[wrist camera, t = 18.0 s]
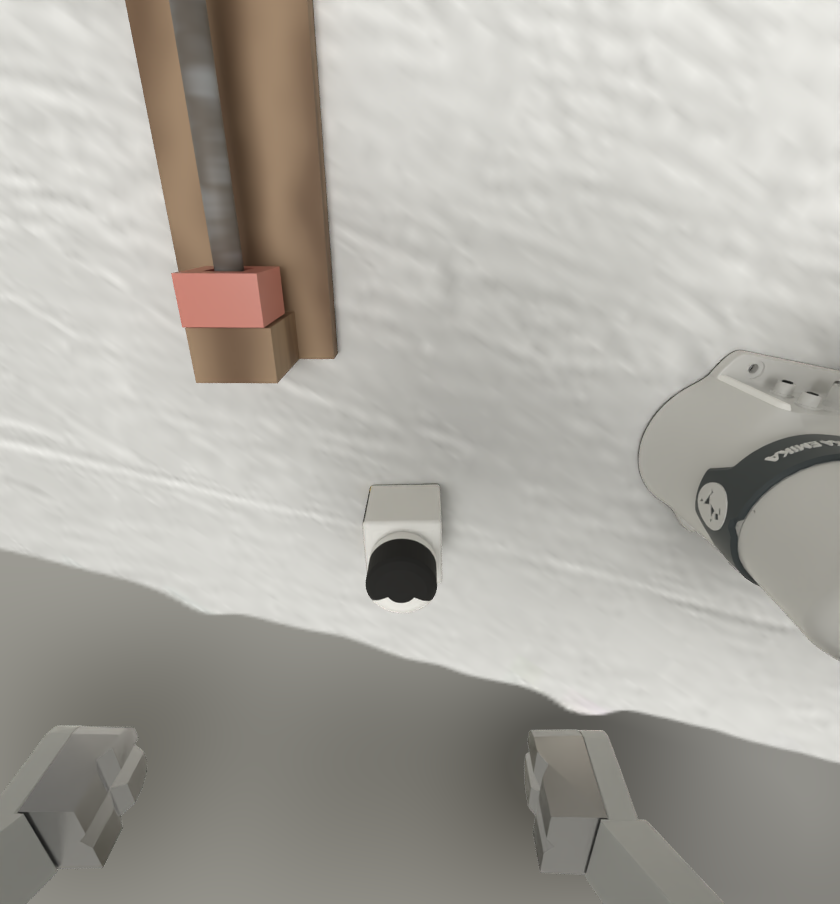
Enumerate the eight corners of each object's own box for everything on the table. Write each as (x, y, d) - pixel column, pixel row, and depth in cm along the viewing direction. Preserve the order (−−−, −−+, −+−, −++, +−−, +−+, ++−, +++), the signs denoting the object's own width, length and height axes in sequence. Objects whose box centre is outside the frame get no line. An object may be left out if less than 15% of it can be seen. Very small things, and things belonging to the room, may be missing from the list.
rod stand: (304, -111, 31) (262, -228, 23) (337, 353, 44) (317, 383, 36) (118, -111, 31) (10, -227, 23) (205, 352, 44) (155, 382, 36)
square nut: (279, 266, 37) (256, 273, 32) (284, 313, 39) (263, 327, 34) (205, 265, 37) (171, 273, 32) (214, 313, 39) (182, 327, 34)
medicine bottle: (369, 484, 50) (354, 557, 39) (439, 482, 50) (443, 556, 39) (374, 541, 53) (361, 624, 42) (440, 540, 53) (444, 623, 42)
